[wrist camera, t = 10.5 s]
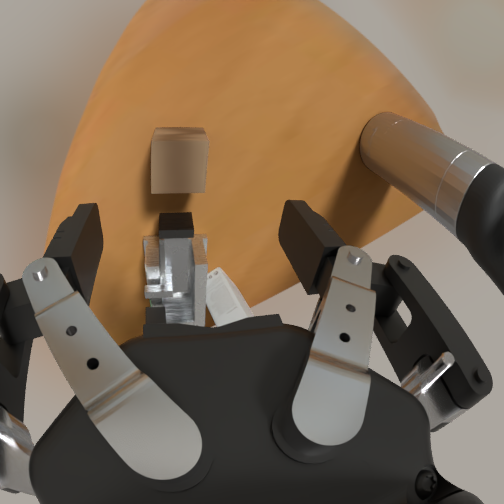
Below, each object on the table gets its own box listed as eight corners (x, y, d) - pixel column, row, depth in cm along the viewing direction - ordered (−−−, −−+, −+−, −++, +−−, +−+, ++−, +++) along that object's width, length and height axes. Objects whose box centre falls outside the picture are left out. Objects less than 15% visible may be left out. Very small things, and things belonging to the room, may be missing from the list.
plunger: (191, 212, 30) (195, 240, 26) (189, 276, 36) (194, 307, 32) (142, 213, 29) (137, 242, 24) (148, 278, 34) (147, 310, 30)
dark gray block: (165, 306, 32) (166, 323, 30) (165, 311, 32) (166, 327, 30) (145, 307, 31) (145, 323, 29) (146, 312, 32) (146, 328, 30)
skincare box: (194, 281, 39) (223, 350, 30) (220, 263, 39) (256, 330, 30) (215, 301, 43) (245, 364, 35) (239, 285, 43) (274, 346, 35)
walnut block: (202, 127, 27) (209, 141, 22) (199, 170, 30) (204, 192, 25) (155, 127, 25) (151, 141, 21) (154, 171, 28) (151, 193, 24)
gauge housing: (206, 234, 35) (213, 264, 30) (203, 295, 41) (209, 326, 37) (143, 236, 33) (140, 267, 28) (150, 297, 39) (151, 329, 35)
